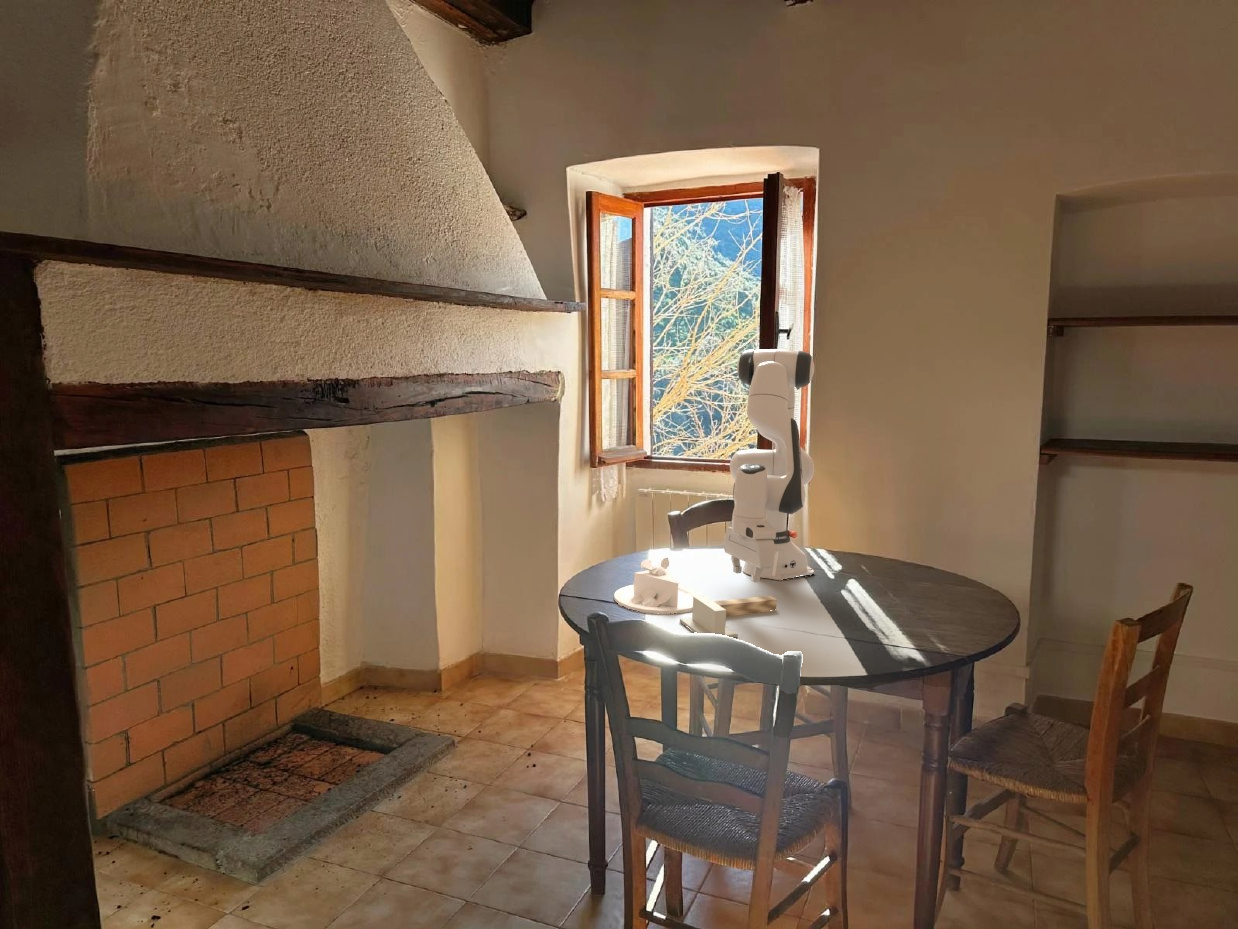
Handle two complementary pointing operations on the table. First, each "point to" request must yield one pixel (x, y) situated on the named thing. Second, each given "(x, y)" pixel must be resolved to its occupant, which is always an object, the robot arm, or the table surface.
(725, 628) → the ridge block
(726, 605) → the beech bar
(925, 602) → the table surface
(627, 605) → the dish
